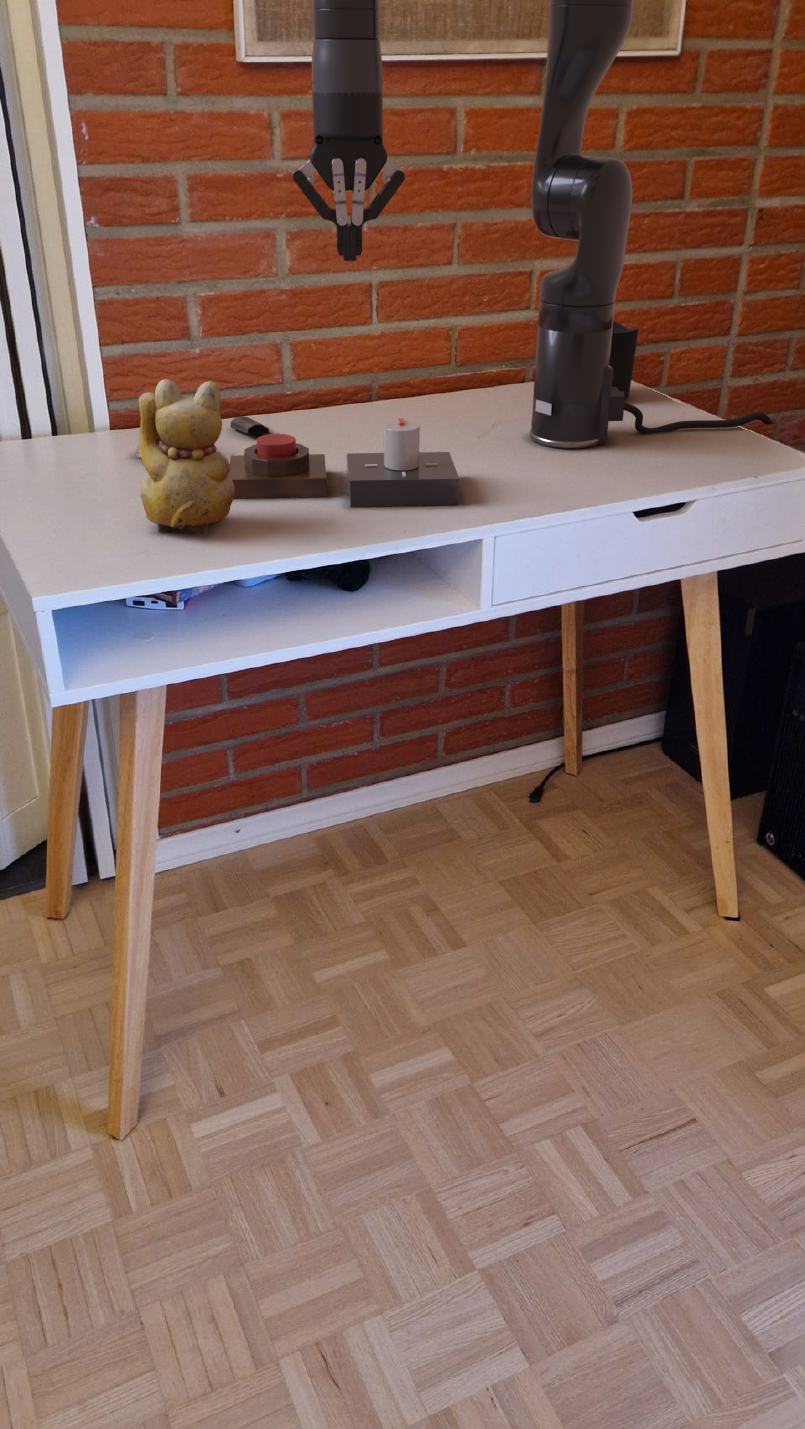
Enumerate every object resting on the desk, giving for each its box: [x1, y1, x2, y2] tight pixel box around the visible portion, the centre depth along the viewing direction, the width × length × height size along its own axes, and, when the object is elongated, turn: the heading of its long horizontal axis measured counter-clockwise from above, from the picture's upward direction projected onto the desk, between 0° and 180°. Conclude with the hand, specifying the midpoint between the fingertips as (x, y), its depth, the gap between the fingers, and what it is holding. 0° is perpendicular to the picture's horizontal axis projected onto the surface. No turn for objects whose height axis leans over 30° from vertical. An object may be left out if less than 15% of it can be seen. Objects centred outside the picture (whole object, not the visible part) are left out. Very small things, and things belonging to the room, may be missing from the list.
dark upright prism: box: [609, 320, 640, 401], centre depth 169 cm, size 9×9×10 cm
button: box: [256, 433, 297, 458], centre depth 134 cm, size 4×4×2 cm
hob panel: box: [346, 451, 461, 508], centre depth 134 cm, size 12×10×3 cm
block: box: [230, 415, 270, 435], centre depth 154 cm, size 4×6×2 cm, turn 32°
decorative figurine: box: [138, 378, 235, 535], centre depth 120 cm, size 10×8×15 cm
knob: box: [383, 417, 421, 471], centre depth 132 cm, size 4×4×5 cm
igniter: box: [228, 442, 328, 499], centre depth 135 cm, size 11×9×4 cm
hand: (350, 260), depth 135 cm, fingers closed
